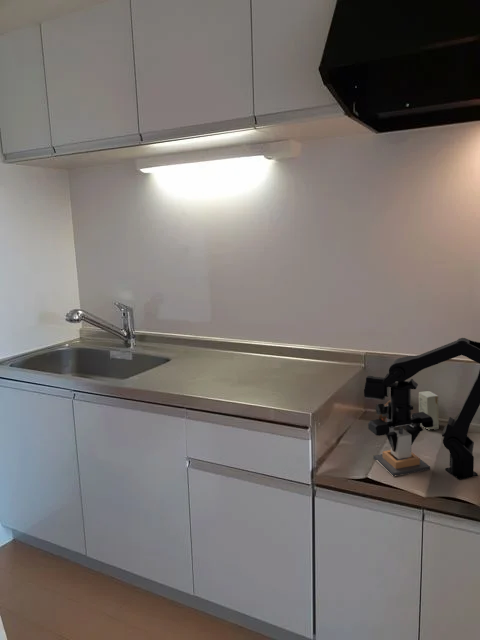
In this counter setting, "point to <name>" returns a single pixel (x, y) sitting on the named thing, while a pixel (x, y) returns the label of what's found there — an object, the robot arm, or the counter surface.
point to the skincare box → (429, 407)
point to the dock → (401, 463)
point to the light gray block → (402, 444)
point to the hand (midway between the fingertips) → (400, 450)
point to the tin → (385, 416)
